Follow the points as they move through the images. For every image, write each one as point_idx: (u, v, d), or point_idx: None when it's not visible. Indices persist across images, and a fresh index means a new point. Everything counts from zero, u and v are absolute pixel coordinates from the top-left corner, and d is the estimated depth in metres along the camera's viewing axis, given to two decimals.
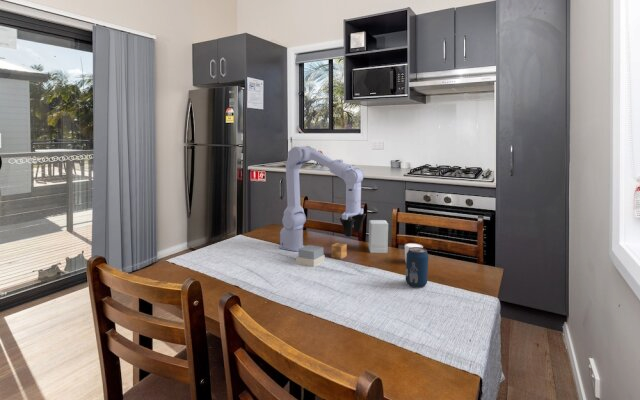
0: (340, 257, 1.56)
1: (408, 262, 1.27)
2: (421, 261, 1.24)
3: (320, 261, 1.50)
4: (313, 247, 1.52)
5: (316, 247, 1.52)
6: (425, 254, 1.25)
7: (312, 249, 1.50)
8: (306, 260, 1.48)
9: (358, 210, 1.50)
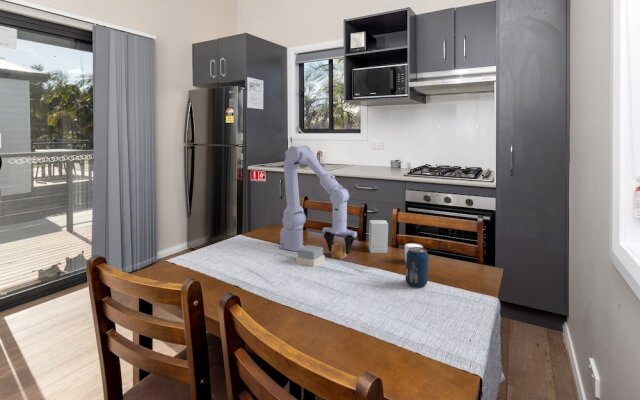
0: (340, 257, 1.56)
1: (408, 262, 1.27)
2: (421, 261, 1.24)
3: (320, 261, 1.50)
4: (313, 247, 1.52)
5: (315, 247, 1.52)
6: (425, 254, 1.25)
7: (312, 249, 1.50)
8: (306, 260, 1.48)
9: (334, 229, 1.55)
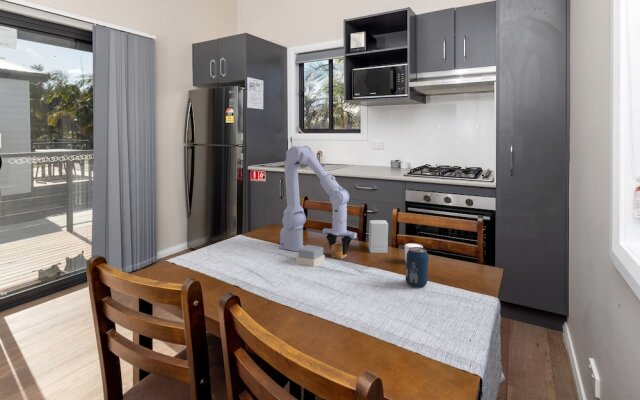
0: (340, 257, 1.56)
1: (408, 262, 1.27)
2: (421, 261, 1.24)
3: (320, 261, 1.50)
4: (313, 247, 1.52)
5: (316, 247, 1.52)
6: (425, 254, 1.25)
7: (312, 248, 1.50)
8: (306, 260, 1.48)
9: (334, 230, 1.55)
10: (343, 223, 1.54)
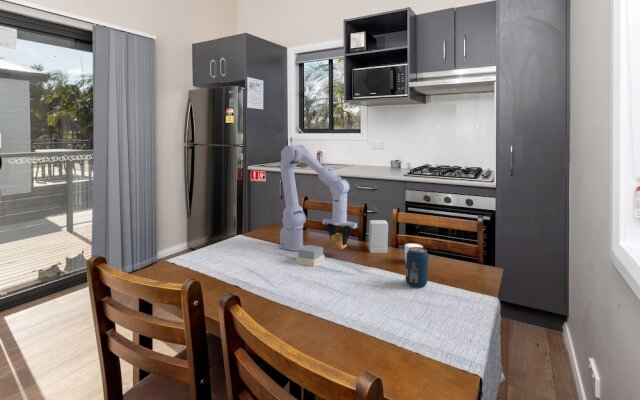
0: (340, 247, 1.55)
1: (408, 262, 1.27)
2: (421, 261, 1.24)
3: (320, 261, 1.50)
4: (312, 247, 1.53)
5: (315, 247, 1.52)
6: (425, 254, 1.25)
7: (312, 249, 1.50)
8: (306, 260, 1.47)
9: (334, 220, 1.54)
10: (343, 213, 1.53)
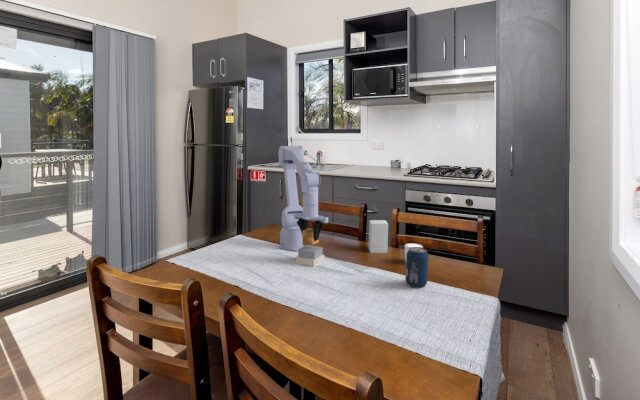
0: (311, 243, 1.48)
1: (408, 262, 1.27)
2: (421, 261, 1.24)
3: (320, 261, 1.50)
4: (312, 247, 1.52)
5: (315, 247, 1.52)
6: (425, 254, 1.25)
7: (312, 249, 1.50)
8: (306, 260, 1.47)
9: (304, 214, 1.47)
10: (314, 207, 1.46)
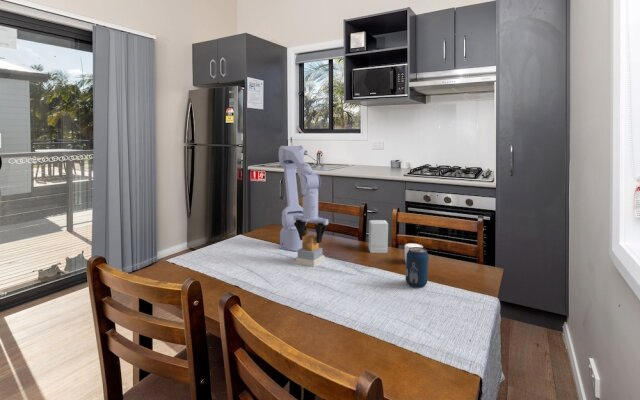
0: (311, 249, 1.48)
1: (408, 262, 1.27)
2: (421, 261, 1.24)
3: (320, 261, 1.50)
4: None
5: None
6: (425, 254, 1.25)
7: None
8: (306, 260, 1.47)
9: (304, 216, 1.47)
10: (314, 209, 1.46)
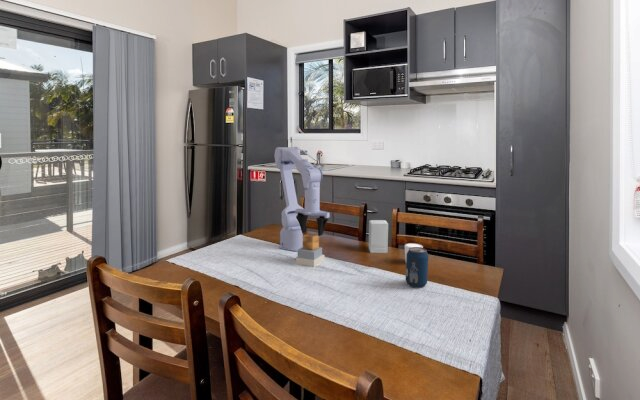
0: (311, 248, 1.48)
1: (408, 262, 1.27)
2: (421, 261, 1.24)
3: (320, 261, 1.50)
4: None
5: None
6: (425, 254, 1.25)
7: None
8: (306, 260, 1.47)
9: (306, 209, 1.50)
10: (315, 202, 1.49)
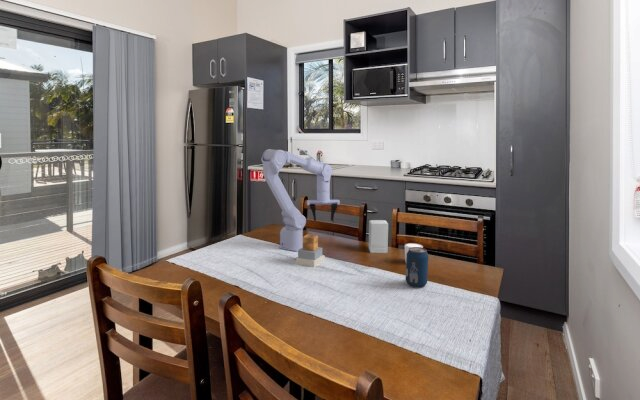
0: (312, 249, 1.48)
1: (408, 262, 1.27)
2: (421, 261, 1.24)
3: (320, 261, 1.50)
4: None
5: None
6: (425, 254, 1.25)
7: None
8: (306, 261, 1.47)
9: (322, 199, 1.73)
10: (329, 192, 1.74)
